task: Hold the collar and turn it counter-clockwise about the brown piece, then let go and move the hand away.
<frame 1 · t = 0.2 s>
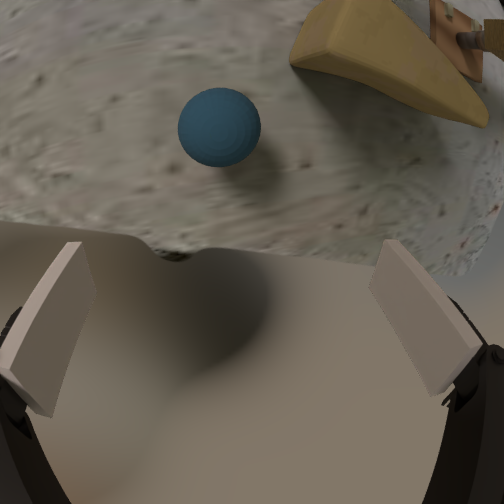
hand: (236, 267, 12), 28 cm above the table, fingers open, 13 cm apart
cheese: (368, 70, 31), on the table
brown piece: (455, 40, 27), on the table
mug: (502, 3, 20), on the table
light bulb: (219, 119, 34), on the table
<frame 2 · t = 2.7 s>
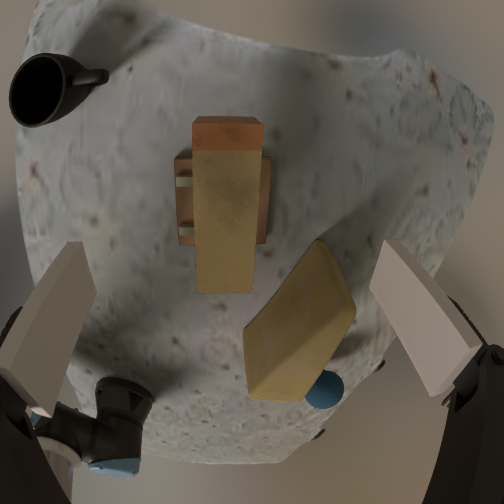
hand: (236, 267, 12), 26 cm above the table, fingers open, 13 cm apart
cheese: (288, 292, 48), on the table
collar: (224, 198, 26), point 11 cm above the table, hinge at 0.0°
brown piece: (222, 199, 38), on the table
mug: (86, 84, 27), on the table
light bulb: (314, 360, 60), on the table
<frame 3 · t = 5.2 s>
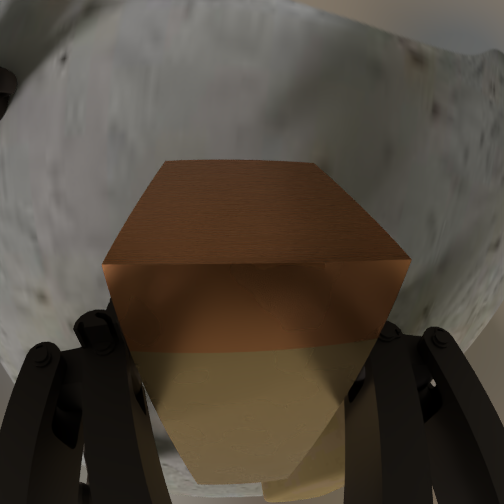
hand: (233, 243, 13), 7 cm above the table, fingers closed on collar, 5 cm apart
cheese: (316, 375, 34), on the table
collar: (238, 348, 12), point 11 cm above the table, hinge at 0.0°, touching gripper
mug: (4, 92, 13), on the table
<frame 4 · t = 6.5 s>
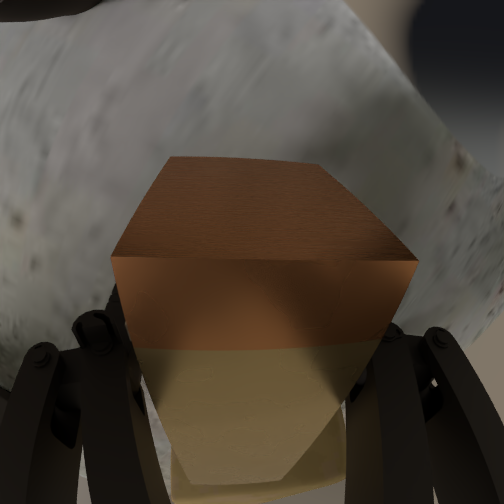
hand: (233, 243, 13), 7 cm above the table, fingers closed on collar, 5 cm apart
cheese: (250, 393, 34), on the table
collar: (235, 348, 12), point 11 cm above the table, hinge at 23.8°, touching gripper
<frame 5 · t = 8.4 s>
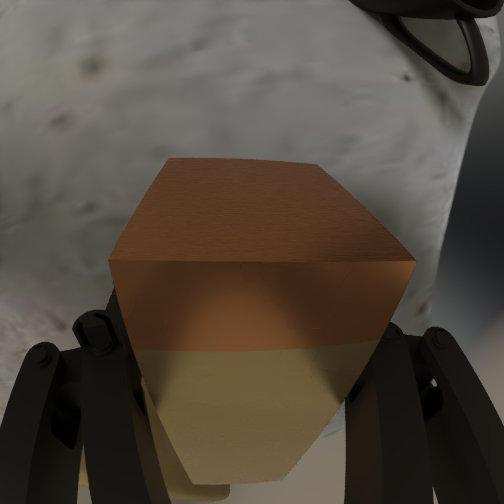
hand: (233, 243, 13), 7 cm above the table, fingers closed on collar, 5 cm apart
cheese: (139, 379, 31), on the table
collar: (236, 348, 12), point 11 cm above the table, hinge at 68.1°, touching gripper
mug: (373, 3, 13), on the table
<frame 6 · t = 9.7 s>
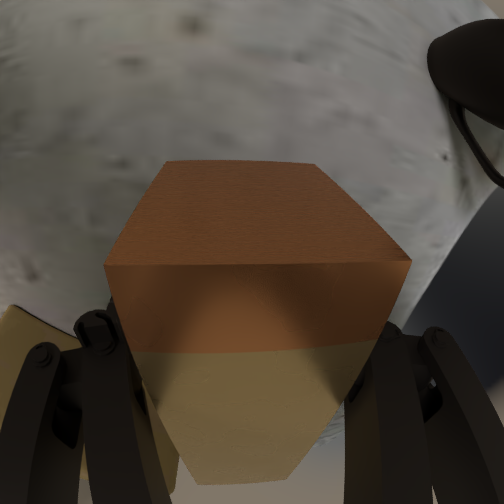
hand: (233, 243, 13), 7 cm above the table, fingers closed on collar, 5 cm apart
cheese: (93, 354, 28), on the table
collar: (238, 349, 12), point 11 cm above the table, hinge at 89.9°, touching gripper
mug: (446, 86, 16), on the table
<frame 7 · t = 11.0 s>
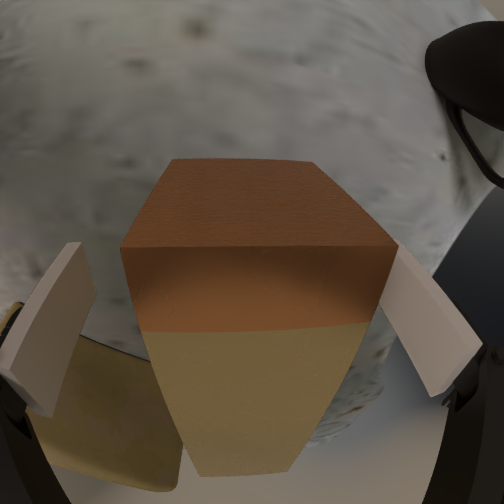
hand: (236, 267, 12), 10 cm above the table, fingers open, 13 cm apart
cheese: (97, 351, 29), on the table
collar: (240, 340, 12), point 11 cm above the table, hinge at 90.1°
mug: (444, 88, 17), on the table
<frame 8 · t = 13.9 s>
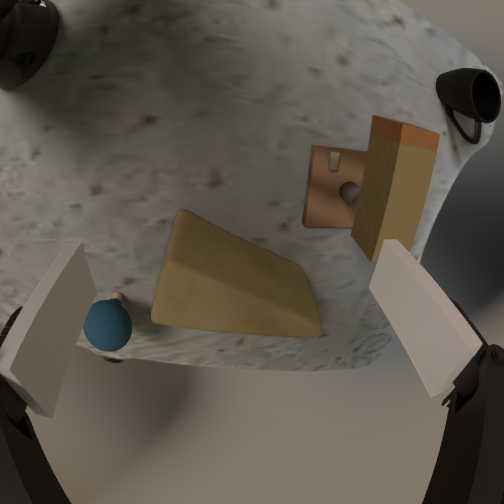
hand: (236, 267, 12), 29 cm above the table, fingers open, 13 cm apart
cheese: (239, 251, 46), on the table
collar: (386, 184, 30), point 11 cm above the table, hinge at 90.1°
brown piece: (344, 187, 41), on the table
mug: (444, 98, 34), on the table
light bulb: (118, 294, 48), on the table
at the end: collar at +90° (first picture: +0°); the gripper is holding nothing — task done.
